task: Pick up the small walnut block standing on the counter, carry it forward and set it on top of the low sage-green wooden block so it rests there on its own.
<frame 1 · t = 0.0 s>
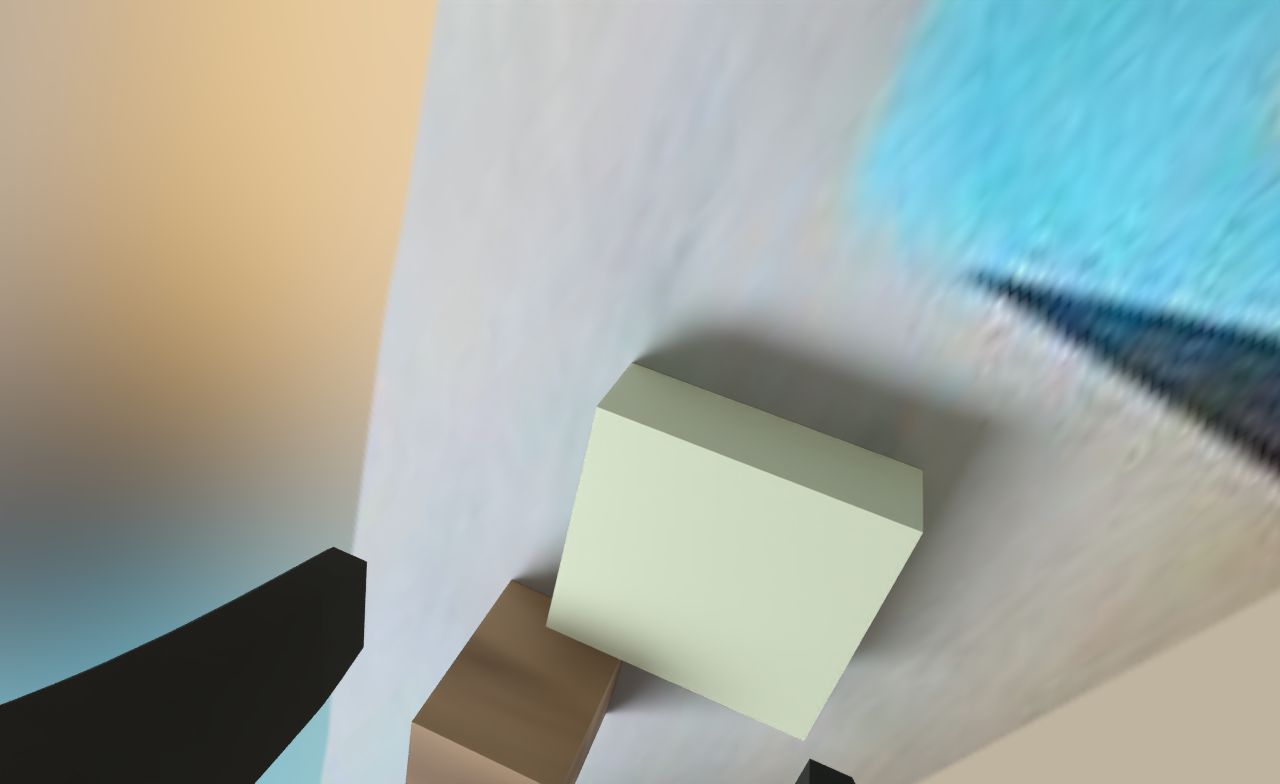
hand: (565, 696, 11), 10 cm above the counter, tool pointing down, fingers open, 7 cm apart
walnut block: (560, 648, 26), on the counter
sage block: (732, 518, 22), on the counter
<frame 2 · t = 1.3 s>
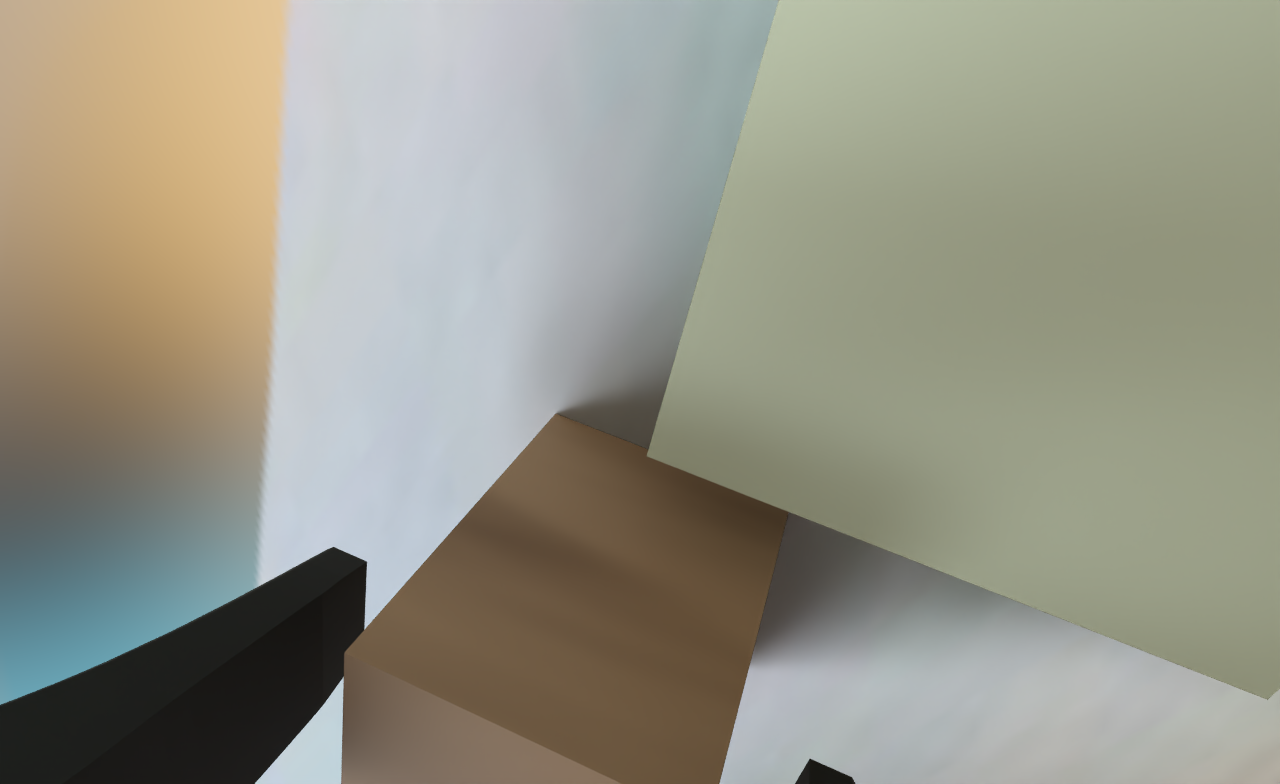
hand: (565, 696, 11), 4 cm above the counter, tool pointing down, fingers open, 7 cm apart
walnut block: (642, 547, 14), on the counter
sage block: (1058, 215, 10), on the counter
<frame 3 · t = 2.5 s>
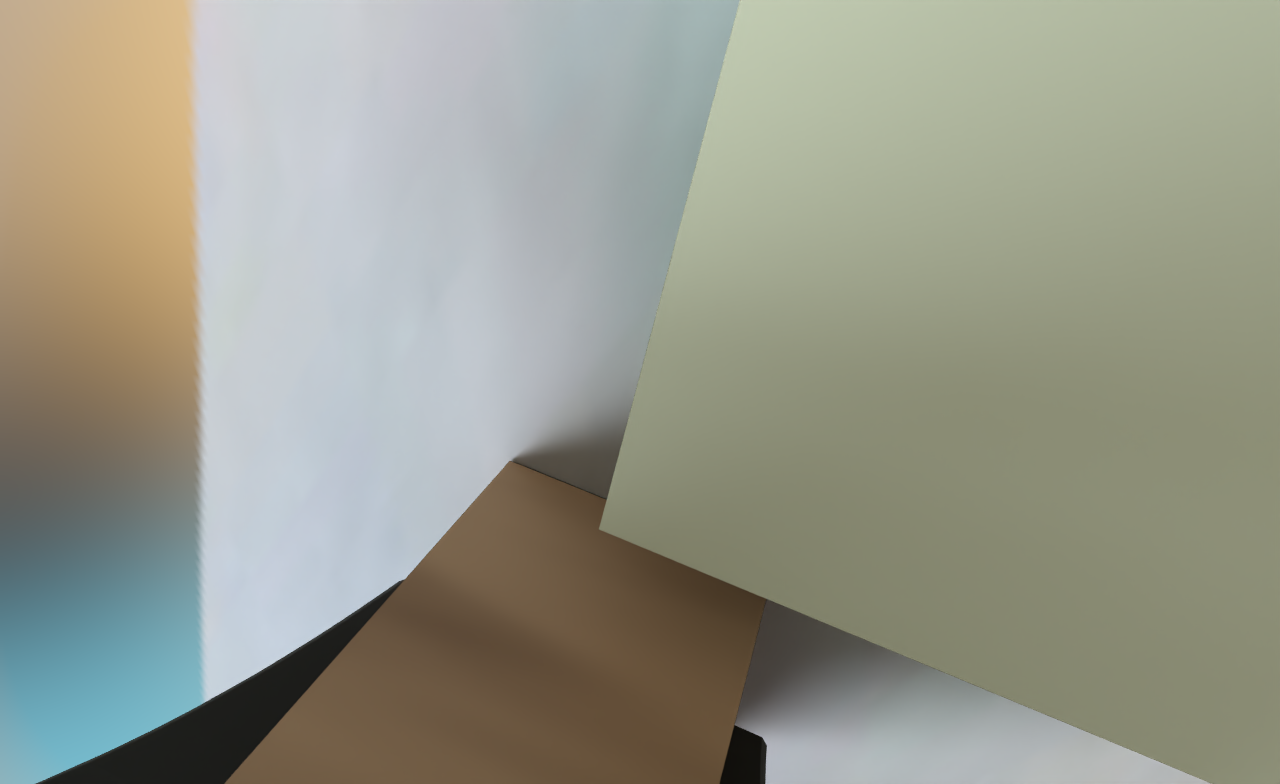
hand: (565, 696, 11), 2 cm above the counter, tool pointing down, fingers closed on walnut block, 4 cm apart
walnut block: (609, 609, 13), on the counter, touching gripper
sage block: (1086, 246, 8), on the counter
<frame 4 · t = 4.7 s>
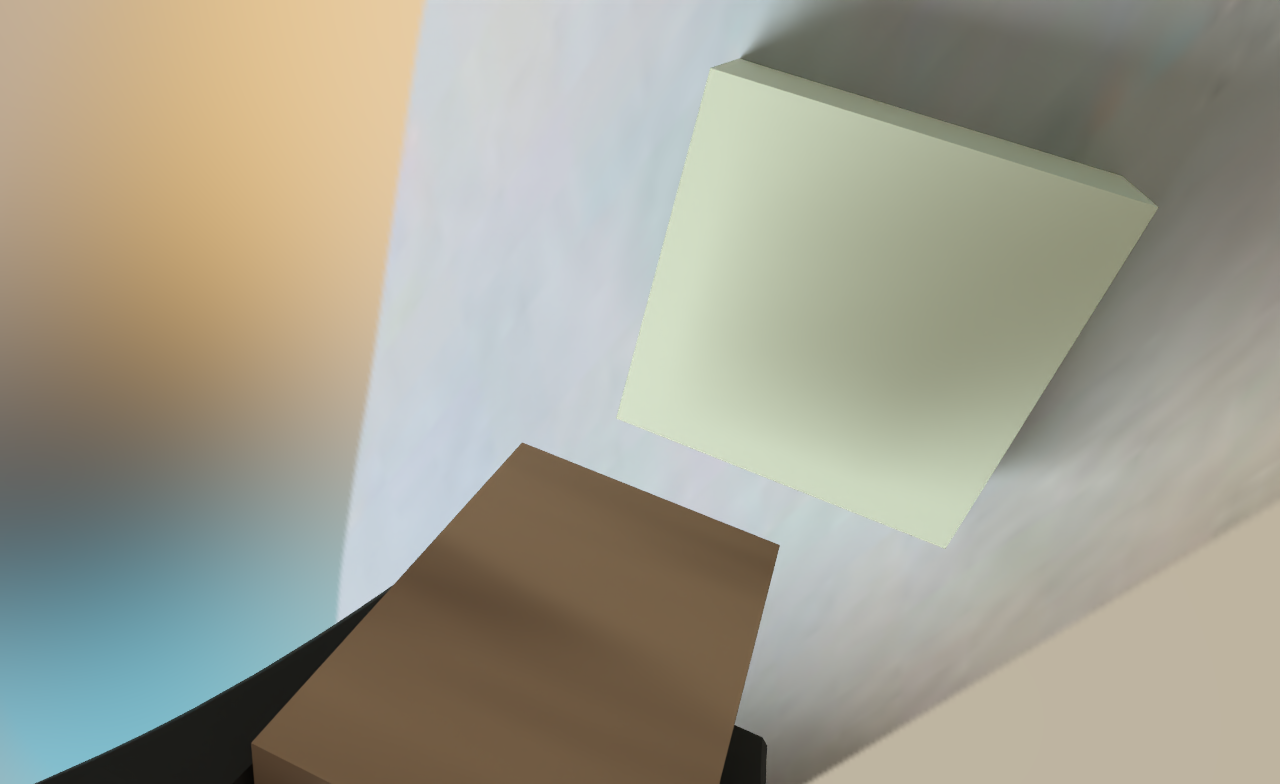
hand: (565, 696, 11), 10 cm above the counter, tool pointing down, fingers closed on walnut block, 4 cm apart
walnut block: (618, 588, 13), point 8 cm above the counter, touching gripper
sage block: (850, 284, 18), on the counter
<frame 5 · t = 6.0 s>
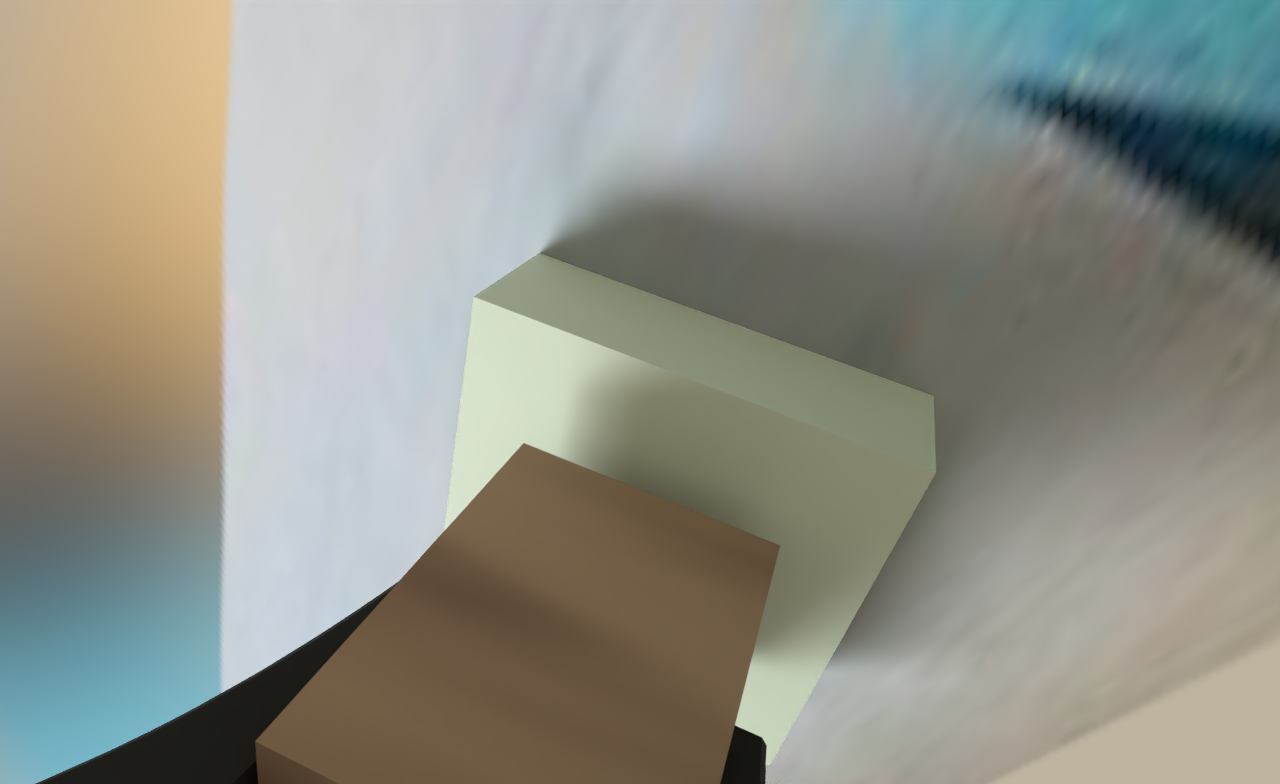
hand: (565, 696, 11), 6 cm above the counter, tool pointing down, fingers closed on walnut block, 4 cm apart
walnut block: (619, 588, 13), point 4 cm above the counter, touching gripper
sage block: (679, 471, 17), on the counter
when the fingers open (6 cm above the counter, at t = 6.8 s): walnut block stays where it is, resting on sage block.
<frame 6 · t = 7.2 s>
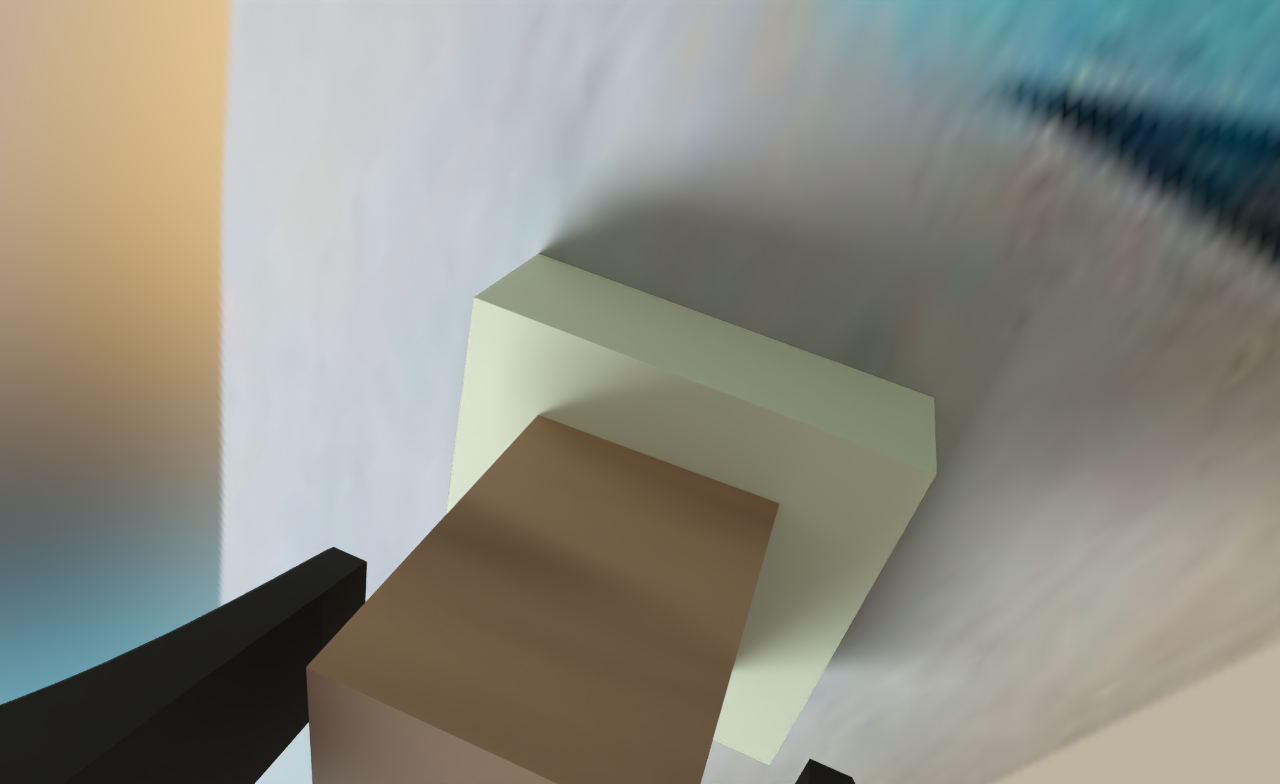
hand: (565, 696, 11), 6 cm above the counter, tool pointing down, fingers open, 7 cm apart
walnut block: (630, 551, 14), point 3 cm above the counter, touching sage block
sage block: (679, 471, 17), on the counter, touching walnut block
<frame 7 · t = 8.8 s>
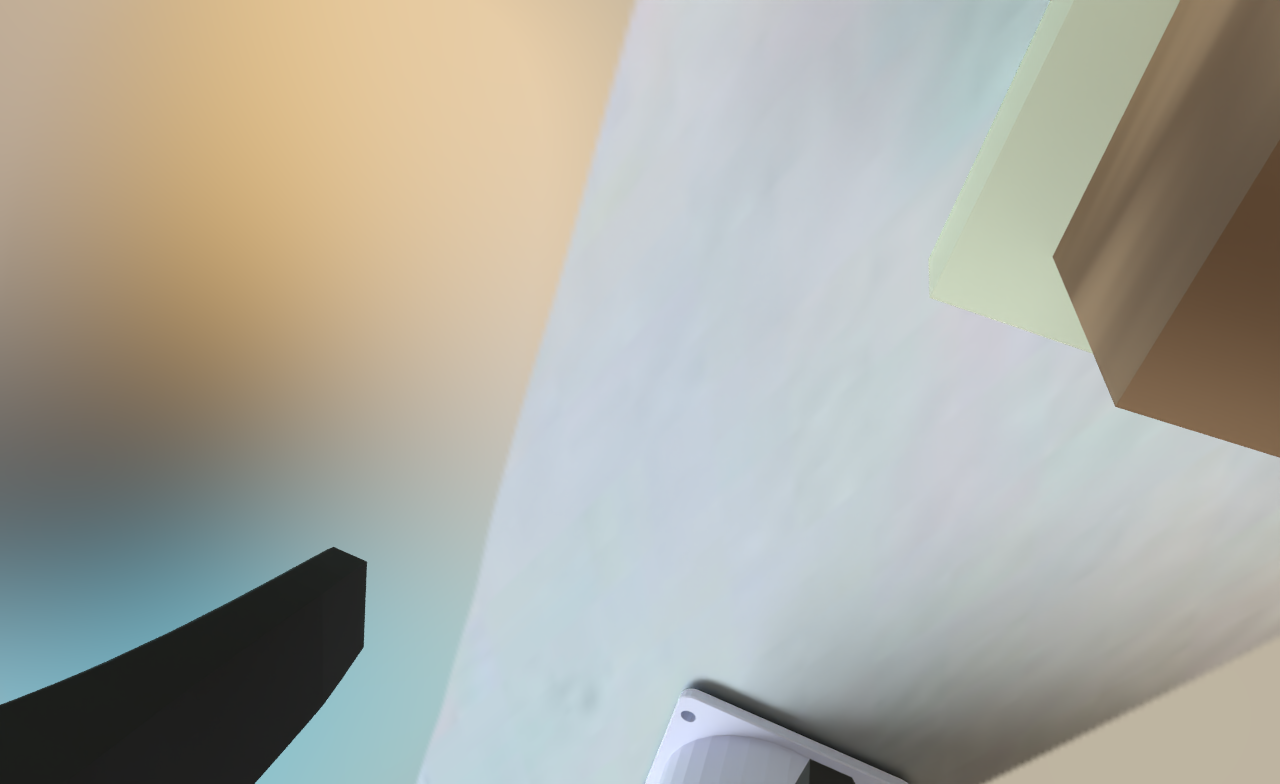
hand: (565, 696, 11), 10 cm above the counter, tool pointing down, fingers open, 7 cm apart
walnut block: (1261, 166, 12), point 3 cm above the counter, touching sage block
sage block: (1218, 131, 14), on the counter, touching walnut block
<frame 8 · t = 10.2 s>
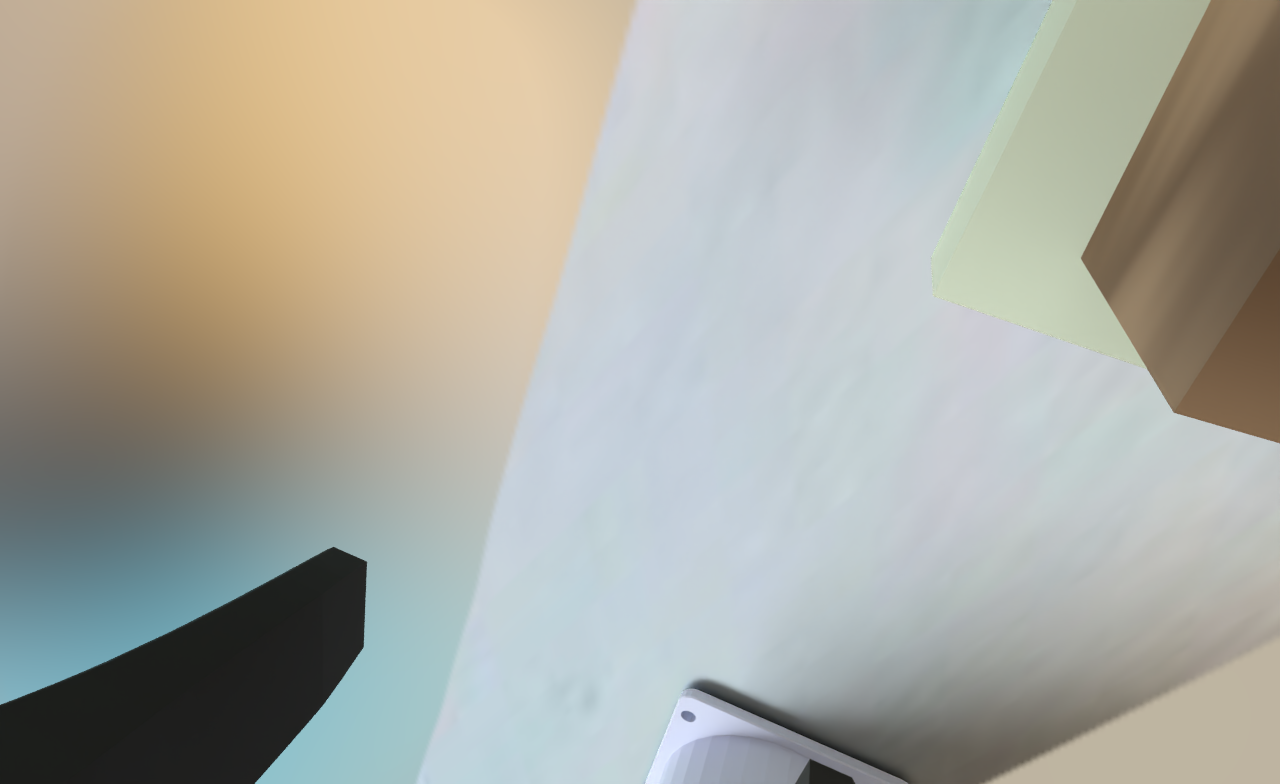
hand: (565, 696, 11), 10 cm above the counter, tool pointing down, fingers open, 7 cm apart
sage block: (1222, 129, 14), on the counter, touching walnut block
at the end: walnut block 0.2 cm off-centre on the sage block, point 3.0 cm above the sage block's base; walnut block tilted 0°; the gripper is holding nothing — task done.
